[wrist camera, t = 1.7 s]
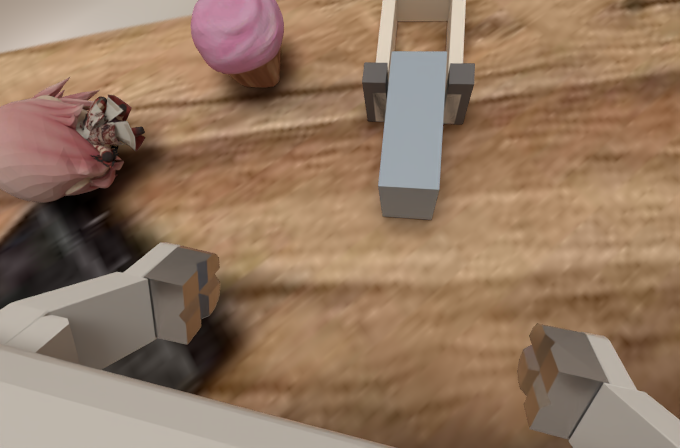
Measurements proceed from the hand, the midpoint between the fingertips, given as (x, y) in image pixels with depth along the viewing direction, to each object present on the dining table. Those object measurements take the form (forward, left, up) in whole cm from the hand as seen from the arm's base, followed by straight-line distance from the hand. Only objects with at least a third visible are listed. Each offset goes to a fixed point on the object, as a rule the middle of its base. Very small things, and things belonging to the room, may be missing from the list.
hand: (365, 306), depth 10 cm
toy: (+33, +16, -26) cm, 45 cm away
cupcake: (+31, -4, -26) cm, 41 cm away
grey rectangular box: (+12, -11, -26) cm, 31 cm away
